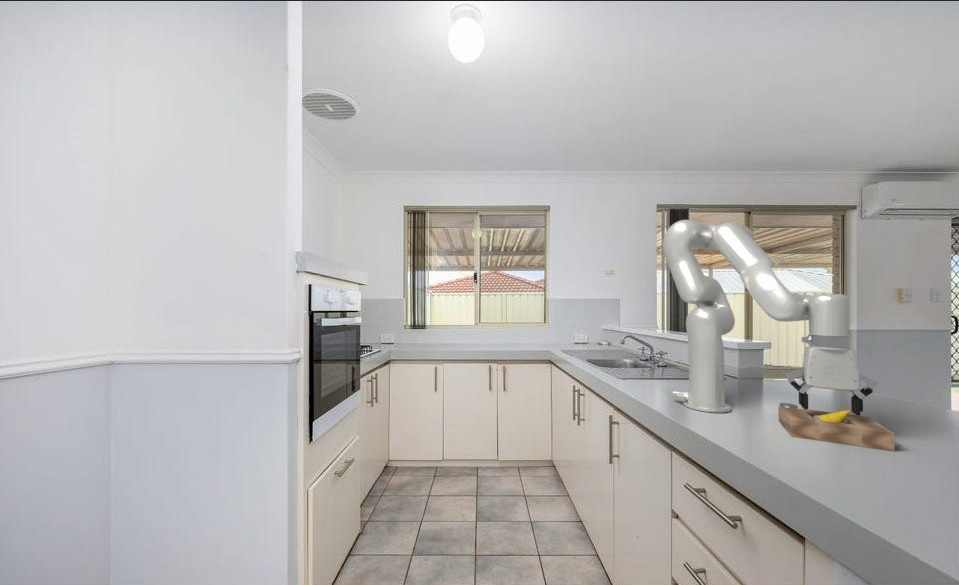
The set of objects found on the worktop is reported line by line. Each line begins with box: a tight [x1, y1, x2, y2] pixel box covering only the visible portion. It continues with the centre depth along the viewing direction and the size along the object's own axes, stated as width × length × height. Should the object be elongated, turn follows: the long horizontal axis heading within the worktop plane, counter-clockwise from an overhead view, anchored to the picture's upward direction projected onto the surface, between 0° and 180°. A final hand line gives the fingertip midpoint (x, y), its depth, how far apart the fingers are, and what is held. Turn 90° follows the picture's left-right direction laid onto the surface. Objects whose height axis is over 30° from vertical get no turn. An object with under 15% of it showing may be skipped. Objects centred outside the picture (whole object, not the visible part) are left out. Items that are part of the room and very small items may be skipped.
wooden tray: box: [778, 405, 896, 452], centre depth 93 cm, size 18×14×4 cm
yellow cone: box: [813, 409, 852, 423], centre depth 93 cm, size 5×5×10 cm
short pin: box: [779, 402, 799, 409], centre depth 106 cm, size 4×4×4 cm
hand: (829, 410), depth 93 cm, fingers open, 9 cm apart
